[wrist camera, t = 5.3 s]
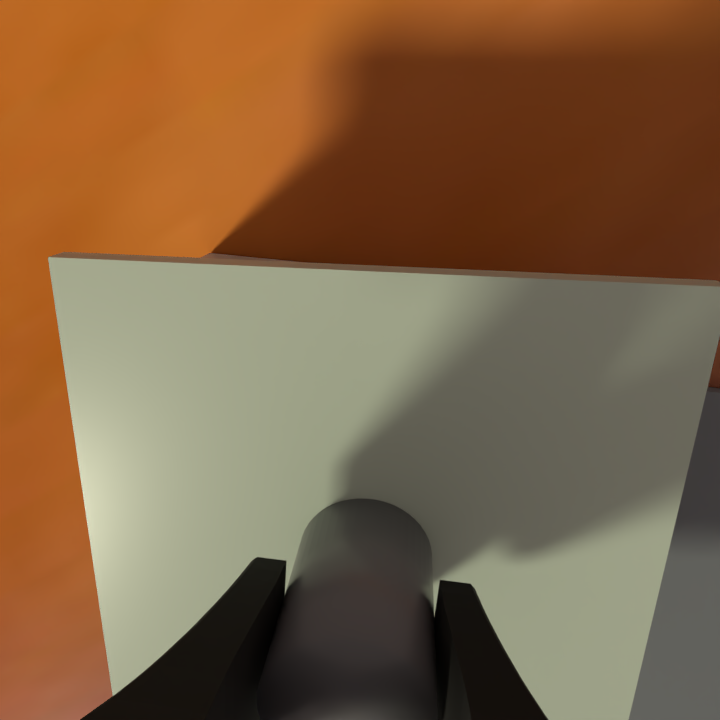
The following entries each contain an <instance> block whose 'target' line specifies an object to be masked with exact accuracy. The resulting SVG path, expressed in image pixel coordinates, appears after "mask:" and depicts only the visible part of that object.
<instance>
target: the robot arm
mask: <svg viewBox="0 0 720 720" xmlns="http://www.w3.org/2000/svg"><path fill="white" fill-rule="evenodd" d="M285 581H286V560H278V559H270V558H262V557H256V558H255V559H254V560H252V561H251V562H250V563H249V565H248V566H247V567H246V568H245V570H244V571H243V572H242V573H241V575H240V576H239V577H238V578H237V579H236V580H235V582H234V583H233V584H232V585H231V586H230V587H229V589H228V590H227V591H226V592H225V593H224V594H223V595H222V596H221V598H220V599H219V600H218V601H217V602H216V603H215V604H214V605H213V606H212V607H211V608H210V609H209V610H208V611H207V612H206V613H205V614H204V616H203V617H202V618H201V619H200V620H199V621H198V622H197V623H196V624H195V625H194V626H193V627H192V628H191V629H190V630H189V631H188V632H187V633H186V634H185V635H184V636H182V637H181V638H180V639H179V640H178V641H177V642H176V643H175V644H174V645H173V646H172V647H171V648H170V649H169V650H168V651H166V652H165V653H164V654H163V655H162V656H161V657H160V658H159V659H158V660H157V661H155V662H154V663H153V664H152V665H151V666H150V667H148V668H147V669H146V670H145V671H144V672H143V673H141V674H140V675H139V676H138V677H137V678H135V679H134V680H133V681H131V682H130V683H129V684H128V685H126V686H125V687H124V688H123V689H121V690H120V691H119V692H118V693H116V694H115V695H114V696H112V697H111V698H110V699H108V700H107V701H105V702H104V703H103V704H101V705H100V706H99V707H97V708H96V709H94V710H93V711H92V712H90V713H89V714H87V715H86V716H85V717H83V718H82V719H80V720H260V717H259V714H258V710H257V702H256V701H257V690H258V686H259V682H260V678H261V675H262V672H263V668H264V665H265V661H266V658H267V655H268V651H269V648H270V644H271V641H272V637H273V634H274V631H275V627H276V624H277V620H278V617H279V614H280V610H281V607H282V603H283V600H284V596H285ZM434 624H435V652H436V680H437V708H438V720H548V718H547V717H546V715H545V714H544V713H543V711H542V709H541V708H540V706H539V705H538V703H537V702H536V700H535V699H534V697H533V696H532V694H531V693H530V691H529V690H528V688H527V686H526V685H525V683H524V682H523V680H522V678H521V677H520V675H519V673H518V672H517V670H516V668H515V666H514V665H513V663H512V661H511V659H510V658H509V656H508V654H507V653H506V651H505V649H504V647H503V645H502V644H501V642H500V640H499V638H498V636H497V634H496V632H495V630H494V628H493V626H492V625H491V623H490V621H489V619H488V616H487V614H486V612H485V610H484V608H483V606H482V604H481V602H480V599H479V597H478V595H477V592H476V590H475V588H474V587H473V586H472V585H471V584H469V583H461V582H454V581H446V580H440V583H439V589H438V596H437V603H436V609H435V616H434Z"/></svg>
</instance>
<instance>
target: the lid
mask: <svg viewBox="0 0 720 720" xmlns="http://www.w3.org/2000/svg"><path fill="white" fill-rule="evenodd" d="M48 260H49V267H50V274H51V281H52V287H53V294H54V301H55V308H56V314H57V321H58V328H59V335H60V342H61V348H62V355H63V362H64V369H65V375H66V382H67V389H68V396H69V402H70V409H71V416H72V423H73V430H74V436H75V443H76V450H77V457H78V463H79V470H80V477H81V484H82V491H83V497H84V504H85V511H86V518H87V524H88V531H89V538H90V545H91V551H92V558H93V565H94V572H95V579H96V585H97V592H98V599H99V606H100V612H101V619H102V626H103V633H104V639H105V646H106V653H107V660H108V667H109V673H110V680H111V687H112V694H113V696H114V695H115V694H116V693H118V692H119V691H120V690H121V689H123V688H124V687H125V686H126V685H128V684H129V683H130V682H131V681H133V680H134V679H135V678H137V677H138V676H139V675H140V674H141V673H143V672H144V671H145V670H146V669H147V668H148V667H150V666H151V665H152V664H153V663H154V662H155V661H157V660H158V659H159V658H160V657H161V656H162V655H163V654H164V653H165V652H166V651H168V650H169V649H170V648H171V647H172V646H173V645H174V644H175V643H176V642H177V641H178V640H179V639H180V638H181V637H182V636H184V635H185V634H186V633H187V632H188V631H189V630H190V629H191V628H192V627H193V626H194V625H195V624H196V623H197V622H198V621H199V620H200V619H201V618H202V617H203V616H204V614H205V613H206V612H207V611H208V610H209V609H210V608H211V607H212V606H213V605H214V604H215V603H216V602H217V601H218V600H219V599H220V598H221V596H222V595H223V594H224V593H225V592H226V591H227V590H228V589H229V587H230V586H231V585H232V584H233V583H234V582H235V580H236V579H237V578H238V577H239V576H240V575H241V573H242V572H243V571H244V570H245V568H246V567H247V566H248V565H249V563H250V562H251V561H252V560H254V559H255V558H256V557H262V558H270V559H278V560H286V581H285V596H284V600H283V603H282V607H281V610H280V614H279V617H278V620H277V624H276V627H275V631H274V634H273V637H272V641H271V644H270V648H269V651H268V655H267V658H266V661H265V665H264V668H263V672H262V675H261V678H260V682H259V686H258V690H257V701H256V702H257V710H258V714H259V717H260V720H438V708H437V680H436V652H435V624H434V616H435V609H436V603H437V596H438V589H439V583H440V580H446V581H454V582H461V583H469V584H471V585H472V586H473V587H474V588H475V590H476V592H477V595H478V597H479V599H480V602H481V604H482V606H483V608H484V610H485V612H486V614H487V616H488V619H489V621H490V623H491V625H492V626H493V628H494V630H495V632H496V634H497V636H498V638H499V640H500V642H501V644H502V645H503V647H504V649H505V651H506V653H507V654H508V656H509V658H510V659H511V661H512V663H513V665H514V666H515V668H516V670H517V672H518V673H519V675H520V677H521V678H522V680H523V682H524V683H525V685H526V686H527V688H528V690H529V691H530V693H531V694H532V696H533V697H534V699H535V700H536V702H537V703H538V705H539V706H540V708H541V709H542V711H543V713H544V714H545V715H546V717H547V718H548V720H629V716H630V712H631V707H632V703H633V699H634V695H635V691H636V686H637V682H638V678H639V674H640V670H641V665H642V661H643V657H644V653H645V648H646V644H647V640H648V636H649V632H650V627H651V623H652V619H653V615H654V611H655V606H656V602H657V598H658V594H659V590H660V585H661V581H662V577H663V573H664V569H665V564H666V560H667V556H668V552H669V548H670V543H671V539H672V535H673V531H674V526H675V522H676V518H677V514H678V510H679V505H680V501H681V497H682V493H683V489H684V484H685V480H686V476H687V472H688V468H689V463H690V459H691V455H692V451H693V447H694V442H695V438H696V434H697V430H698V426H699V421H700V417H701V413H702V409H703V405H704V400H705V396H706V392H707V388H708V383H709V379H710V375H711V371H712V367H713V362H714V358H715V354H716V350H717V346H718V341H719V337H720V282H719V281H717V280H700V279H677V278H654V277H631V276H607V275H584V274H561V273H538V272H515V271H492V270H469V269H446V268H423V267H400V266H376V265H353V264H330V263H307V262H284V261H261V260H238V259H215V258H192V257H168V256H145V255H122V254H99V253H76V252H63V253H60V254H56V255H53V256H50V257H48Z"/></svg>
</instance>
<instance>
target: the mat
mask: <svg viewBox="0 0 720 720" xmlns="http://www.w3.org/2000/svg"><path fill="white" fill-rule="evenodd" d="M629 720H720V388H713V387H708V388H707V392H706V396H705V400H704V405H703V409H702V413H701V417H700V421H699V426H698V430H697V434H696V438H695V442H694V447H693V451H692V455H691V459H690V463H689V468H688V472H687V476H686V480H685V484H684V489H683V493H682V497H681V501H680V505H679V510H678V514H677V518H676V522H675V526H674V531H673V535H672V539H671V543H670V548H669V552H668V556H667V560H666V564H665V569H664V573H663V577H662V581H661V585H660V590H659V594H658V598H657V602H656V606H655V611H654V615H653V619H652V623H651V627H650V632H649V636H648V640H647V644H646V648H645V653H644V657H643V661H642V665H641V670H640V674H639V678H638V682H637V686H636V691H635V695H634V699H633V703H632V707H631V712H630V716H629Z"/></svg>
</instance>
